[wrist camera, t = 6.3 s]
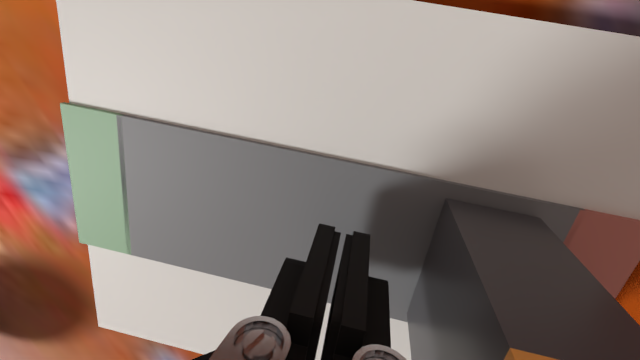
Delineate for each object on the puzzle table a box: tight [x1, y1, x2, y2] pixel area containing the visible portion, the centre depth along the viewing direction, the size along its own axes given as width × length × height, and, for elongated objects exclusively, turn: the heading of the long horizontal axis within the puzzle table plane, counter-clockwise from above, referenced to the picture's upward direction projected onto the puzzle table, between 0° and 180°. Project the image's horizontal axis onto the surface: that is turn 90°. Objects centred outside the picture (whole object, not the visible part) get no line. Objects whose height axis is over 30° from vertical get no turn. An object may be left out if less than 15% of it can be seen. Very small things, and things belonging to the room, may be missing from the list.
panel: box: [56, 0, 640, 360], centre depth 13 cm, size 20×16×1 cm
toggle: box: [407, 198, 640, 360], centre depth 9 cm, size 3×5×7 cm, turn 171°
